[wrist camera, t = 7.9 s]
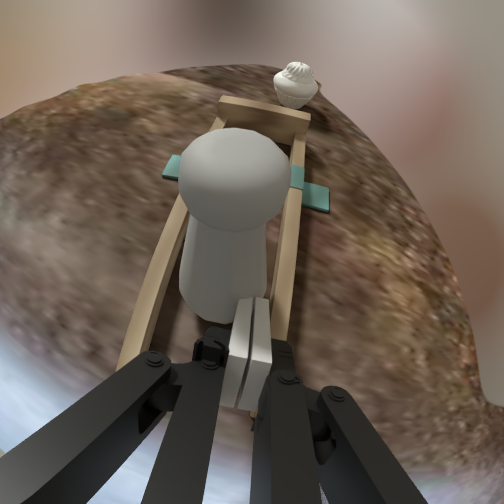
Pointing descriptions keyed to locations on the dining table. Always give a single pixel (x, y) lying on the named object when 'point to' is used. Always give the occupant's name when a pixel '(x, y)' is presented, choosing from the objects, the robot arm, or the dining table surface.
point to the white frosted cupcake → (295, 85)
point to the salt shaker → (228, 218)
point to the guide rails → (159, 272)
